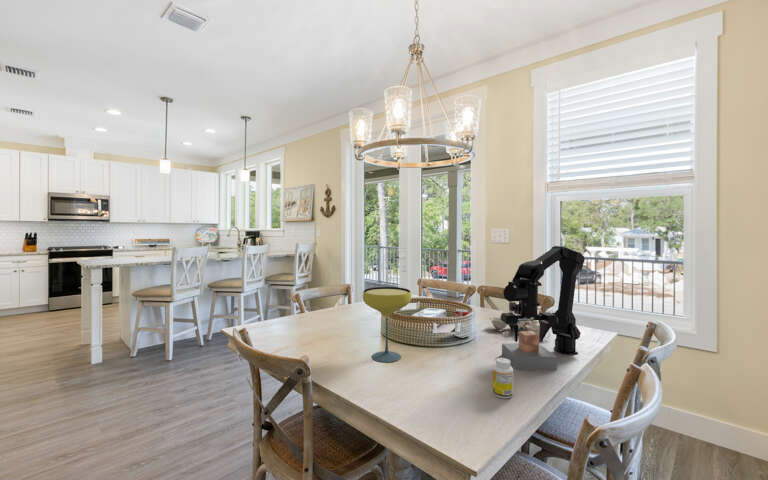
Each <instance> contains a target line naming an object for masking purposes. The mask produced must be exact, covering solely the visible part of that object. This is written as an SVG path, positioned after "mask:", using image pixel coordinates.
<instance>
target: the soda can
mask: <svg viewBox="0 0 768 480" xmlns="http://www.w3.org/2000/svg"><path fill="white" fill-rule="evenodd" d="M467 314H470V312H469V310H468V309H465V308H456V309H454V313H453V318H454V317H460V316H465V315H467Z"/></svg>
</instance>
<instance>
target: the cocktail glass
mask: <svg viewBox="0 0 768 480" xmlns="http://www.w3.org/2000/svg"><path fill="white" fill-rule="evenodd" d="M411 300H412V291H411V289H409V288H405V287H404V288H403V287H398V286H396V287H395V286H377V287H368V288H366V289H363V291H362V301H363V302H364V304H366V306H368V307H370V308H372V309H373V310H375V311H377V312H380V314H381V315H382V316H383V317H384V318H385V348H384V351H383V350H382V351H377V352H375V353H373V354H372V355H371V357H372V359H373V360H374V361H376V362H379V363H395V362H398V361H400V359H401V358H402V355H401V354H399V352H396V351H391V350H389V343H388V341H389V340H388V339H389V337H388V336H389V335H388V334H389V333H388V331H389V330H388V327H389V326H388V322H389V320H388V319H390V318H391V316H392V314H394V313H395V312H397V311H399V310H401V309H403V308H405V307H406V306H408V305H409V303H411Z"/></svg>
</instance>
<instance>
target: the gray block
mask: <svg viewBox="0 0 768 480" xmlns="http://www.w3.org/2000/svg"><path fill="white" fill-rule="evenodd" d="M501 356H502V358H506V359H509V360H510V364H511V365H510V366H511V367H512V368H513V369H515V370H516V371H557V370H558V356H556V355H555V354H554V353H553V352H551V351H550V350H548V349H547V348H545V347H544V346H543V345H541V344H540V343H539V352H524V351H523V350H521V349H520V348H519V342H514V343H513V342H512V343H506V342H505V343H504V342H503V343H501Z"/></svg>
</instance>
